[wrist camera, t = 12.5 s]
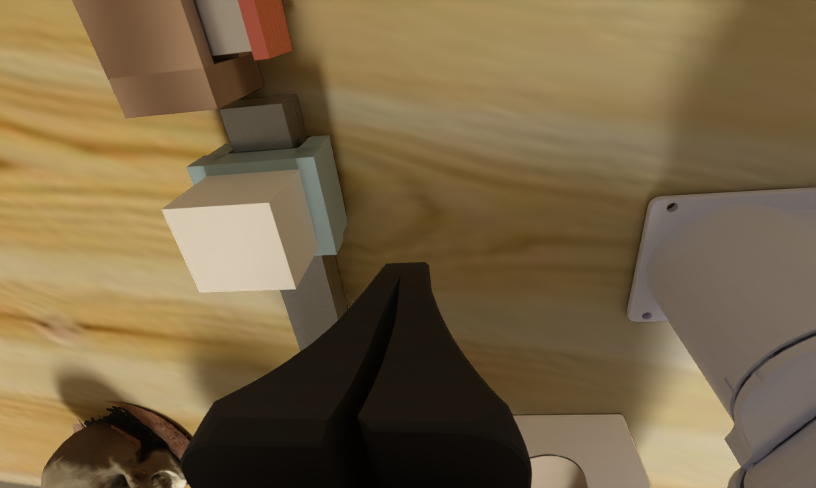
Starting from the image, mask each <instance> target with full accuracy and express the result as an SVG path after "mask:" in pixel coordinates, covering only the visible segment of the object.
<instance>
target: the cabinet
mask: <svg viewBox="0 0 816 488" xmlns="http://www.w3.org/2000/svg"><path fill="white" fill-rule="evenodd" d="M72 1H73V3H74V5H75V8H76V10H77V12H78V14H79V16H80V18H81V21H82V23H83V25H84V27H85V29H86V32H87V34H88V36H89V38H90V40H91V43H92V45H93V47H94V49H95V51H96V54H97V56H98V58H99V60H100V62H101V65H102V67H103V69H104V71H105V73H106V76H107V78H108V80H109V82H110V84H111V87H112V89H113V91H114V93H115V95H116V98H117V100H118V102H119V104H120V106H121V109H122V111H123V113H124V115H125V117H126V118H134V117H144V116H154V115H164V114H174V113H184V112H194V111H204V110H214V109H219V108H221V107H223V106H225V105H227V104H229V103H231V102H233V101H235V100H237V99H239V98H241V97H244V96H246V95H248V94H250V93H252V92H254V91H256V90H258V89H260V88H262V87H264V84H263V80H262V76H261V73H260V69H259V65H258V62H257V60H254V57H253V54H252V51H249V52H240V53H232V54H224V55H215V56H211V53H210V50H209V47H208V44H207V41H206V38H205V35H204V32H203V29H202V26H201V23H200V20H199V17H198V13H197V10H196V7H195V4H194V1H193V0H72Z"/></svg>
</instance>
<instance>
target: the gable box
mask: <svg viewBox="0 0 816 488" xmlns="http://www.w3.org/2000/svg"><path fill="white" fill-rule="evenodd" d="M513 417H514V419H515V421H516V423H517V425H518V428H519V430H520V432H521V434H522V437H523V439H524V442H525V444H526V447H527V450H528V454H529V457H530V461H531V466H532V483H531V488H652V486H651V484H650V481H649V479H648V476H647V474H646V471H645V468H644V466H643V463H642V461H641V458H640V456H639V453H638V451H637V448H636V446H635V443H634V441H633V438H632V436H631V433H630V431H629V428H628V426H627V423H626V420H625V418H624V416H622V415H620V414H592V415H513Z"/></svg>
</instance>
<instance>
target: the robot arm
mask: <svg viewBox="0 0 816 488" xmlns="http://www.w3.org/2000/svg"><path fill="white" fill-rule="evenodd" d="M671 203H675V204H674V206H673V207H672V208H670V209H667V206H668V205H669V204H671ZM647 312H648V313H647ZM644 313H647V314H646V315H643V314H644ZM627 316H628V318H629V320H631V321H632V322H666V321H669V323H670V324H671V326H672V327H673V329H674V330H675V332H676V334H677V335H678V337H679V338H680V340H681V341H682V343H683V344H684V346H685V348H686V349H687V351H688V352H689V354H690V355H691V357H692V358H693V360H694V361H695V363H696V365H697V366H698V368H699V369H700V371H701V372H702V374H703V375H704V377H705V378H706V380H707V382H708V383H709V385H710V386H711V388H712V389H713V391H714V392H715V394H716V395H717V397H718V399H719V400H720V402H721V403H722V405H723V406H724V408H725V409H726V411H727V412H728V414H729V416H730V417H731V419H732V420H733V422H734V427H733V429H732V431H731V432H730V433H729V434H728V435H727V436H726V437H725V441H726V442H727V444H728V446H729V447H730V449H731V451H732V452H733V454H734V456H735V457H736V459H737V461H738V462H739V464H740V466H741V468H739V469H738V470H737V471H735V472H734V474H733V475H732V477H731V478H730V480H729V483H728V487H727V488H816V187H811V188H793V189H776V190H759V191H742V192H724V193H707V194H690V195H673V196H659V197H656V198H654V199H652V200H651V201H650V202H649V205H648V208H647V213H646V218H645V223H644V228H643V233H642V238H641V243H640V248H639V253H638V258H637V263H636V268H635V273H634V278H633V283H632V288H631V293H630V298H629V303H628V308H627ZM181 470H182V473H183V475H184V477H185V479H186V481H187V483H188V484H189V485H190V487H191V488H531V483H532V466H531V461H530V457H529V454H528V450H527V447H526V444H525V442H524V439H523V437H522V434H521V432H520V430H519V428H518V425H517V423H516V421H515V419H514V417H513V415H512V413H511V411H510V409H509V407H508V405H507V404H506V403H505V402H504V401H503V400H502V399H501V398H500V397H499V396H498V395H497V394H496V393H495V392H494V391H493V390H492V389H491V388H490V387H489V386H488V385H487V383H486V382H485V381H484V380H483V379H482V378H481V377H480V375H479V374H478V373H477V372H476V370H475V369H474V368H473V366H472V365H471V364H470V362H469V361H468V360H467V358H466V357H465V356H464V354H463V353H462V351H461V350H460V348H459V347H458V345H457V344H456V342H455V340H454V339H453V337H452V335H451V334H450V332H449V330H448V328H447V326H446V324H445V322H444V320H443V318H442V316H441V314H440V312H439V309H438V307H437V304H436V301H435V299H434V296H433V293H432V290H431V280H430V271H429V265H428V264H427V263H425V262H417V263H392V264H386V265H385V266H384V267H383V268H382V269H381V271H380V272H379V273H378V274H377V276H376V277H375V278H374V280H373V281H372V282H371V283H370V285H369V286H368V287H367V288H366V290H365V291H364V292H363V293H362V294H361V295H360V297H359V298H358V299H357V300H356V301H355V303H354V304H353V305H352V306H351V307H350V308H349V309H348V310H347V311H346V312H345V313H344V314H343V315H342V316H341V317H340V318H339V320H338V321H337V322H336V323H335V324H333V325H332V326H331V327H330V328H329V329H328V330H327V331H326V332H325V333H324V334H322V335H321V336H320V337H319V338H318V339H316V340H315V341H314V342H313V343H312V344H310V345H309V346H307V347H306V348H305V349H303V350H302V351H301V352H299V353H298V354H297V355H295V356H294V357H292V358H291V359H290V360H288V361H287V362H285V363H284V364H282V365H281V366H279V367H278V368H276V369H274V370H273V371H271V372H270V373H268V374H266V375H264V376H263V377H261V378H259V379H258V380H256V381H254V382H252V383H251V384H249V385H247V386H245V387H243V388H241V389H239V390H237V391H235V392H233V393H231V394H229V395H227V396H225V397H223V398H221V399H219V400H217V401H215V402H214V403H213V405H212V406H211V408H210V409H209V411H208V412H207V414H206V416H205V417H204V419H203V420H202V422H201V424H200V426H199V427H198V429H197V431H196V433H195V434H194V436H193V438H192V439H191V441H190V443H189V445H188V446H187V448H186V450H185V452H184V453H183V455H182V457H181Z"/></svg>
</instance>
